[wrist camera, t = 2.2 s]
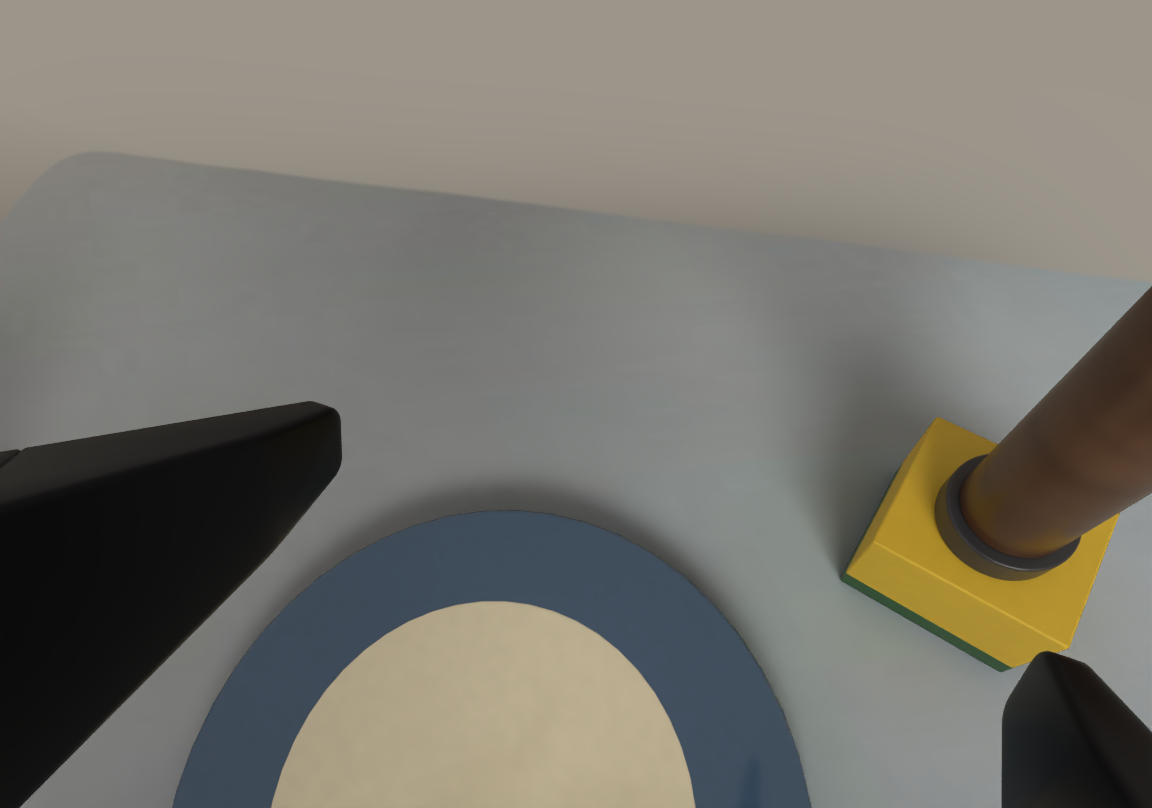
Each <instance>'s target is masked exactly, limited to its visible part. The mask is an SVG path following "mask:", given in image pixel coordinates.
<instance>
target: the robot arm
mask: <svg viewBox="0 0 1152 808" xmlns="http://www.w3.org/2000/svg"><path fill="white" fill-rule="evenodd" d="M341 461H342V444H341V420H340V415H339V413H338V412H337V411H336V410H335V409H334V408H332V407H329V406H326V405H323V404H320V403H317V402H313V401H306V402H300V403H294V404H288V405H282V406H276V407H270V408H264V409H258V410H252V411H246V412H240V413H234V414H228V415H222V416H216V417H210V418H204V419H198V420H192V421H186V422H179V423H173V424H167V425H161V426H155V427H149V428H143V429H137V430H131V431H125V432H119V433H113V434H107V435H101V436H95V437H89V438H83V439H77V440H71V441H65V442H59V443H52V444H46V445H40V446H34V447H28V448H25V449H23V450H22V451H20V450H17V449H16V450H9V451H3V452H0V808H20V807H21V806H22V805H23V804H24V803H25V801H26V800H27V799H28V798H29V797H30V796H31V795H32V794H33V793H34V792H35V791H36V790H37V789H38V788H39V787H40V786H41V785H42V784H43V783H44V782H45V781H46V780H47V779H48V778H49V777H50V776H51V775H52V774H53V773H54V772H55V771H56V770H57V769H58V768H59V767H60V766H61V765H62V764H63V763H64V762H65V761H66V760H67V759H68V758H69V757H70V756H71V755H72V754H73V753H74V752H75V751H76V750H77V749H78V748H79V747H80V746H81V745H82V744H83V743H84V742H85V741H86V740H87V739H88V738H89V737H90V736H91V735H92V734H93V733H94V732H95V731H96V730H97V729H98V728H99V727H100V726H101V725H102V724H103V723H104V722H105V721H106V720H107V719H108V718H109V717H110V716H111V715H112V714H113V713H114V712H115V711H116V710H117V709H118V708H119V707H120V706H121V705H122V704H123V703H124V702H125V701H126V700H127V699H128V698H129V697H130V696H131V695H132V694H133V693H134V692H135V691H136V690H137V689H138V688H139V687H140V686H141V685H142V684H143V683H144V682H145V681H146V680H147V679H148V678H149V677H150V676H151V675H152V674H153V673H154V672H155V671H156V670H157V669H158V668H159V667H160V666H161V665H162V664H163V663H164V662H165V661H166V660H167V659H168V658H169V657H170V656H171V655H172V654H173V653H174V652H175V651H176V650H177V649H178V648H179V647H180V646H181V645H182V644H183V643H184V642H185V641H186V640H187V639H188V638H189V637H190V636H191V635H192V634H193V633H194V632H195V631H196V630H197V629H198V628H199V627H200V626H201V625H202V624H203V623H204V622H205V621H206V620H207V619H208V618H209V617H210V616H211V615H212V614H213V613H214V612H215V611H216V609H217V608H218V607H219V606H220V605H221V604H222V603H223V602H224V601H225V600H226V599H227V598H228V597H229V596H230V595H231V594H232V593H233V592H234V591H235V590H236V589H237V588H238V587H239V586H240V585H241V584H242V583H243V582H244V581H245V580H246V579H247V578H248V577H249V576H250V575H251V574H252V573H253V572H254V571H255V570H256V569H257V568H258V567H259V566H260V565H261V564H262V563H263V562H264V561H265V560H266V559H267V558H268V557H269V556H270V555H271V554H272V552H273V551H274V550H275V549H276V548H277V547H278V545H279V544H280V543H281V542H282V541H283V540H284V538H285V537H286V536H287V535H288V534H289V532H290V531H291V530H292V529H293V527H294V526H295V525H296V524H297V522H298V521H299V520H300V519H301V518H302V516H303V515H304V514H305V513H306V511H307V510H308V509H309V508H310V506H311V505H312V504H313V503H314V502H315V500H316V499H317V498H318V497H319V495H320V494H321V493H322V492H323V491H324V489H325V488H326V487H327V486H328V484H329V483H330V482H331V481H332V479H333V478H334V477H335V476H336V474H337V472H338V470H339V468H340V465H341ZM1002 808H1152V732H1151V731H1150V730H1149V729H1148V727H1147V726H1146V725H1145V724H1144V723H1143V722H1142V721H1141V720H1140V719H1139V718H1138V717H1137V716H1136V715H1135V714H1134V713H1133V712H1132V711H1131V710H1130V709H1129V708H1128V706H1127V705H1126V704H1125V703H1124V702H1123V701H1122V700H1121V699H1120V698H1119V697H1118V696H1117V695H1116V694H1115V693H1114V692H1113V691H1112V690H1111V689H1110V688H1109V687H1108V685H1107V684H1106V683H1105V682H1104V681H1103V680H1102V679H1101V678H1100V677H1099V676H1098V675H1097V674H1096V673H1095V672H1094V671H1093V670H1092V669H1091V668H1090V667H1089V666H1088V665H1086V664H1085V663H1083V662H1080V661H1078V660H1075V659H1072V658H1069V657H1066V656H1063V655H1060V654H1057V653H1054V652H1051V651H1043V652H1040V653H1038V654H1037V655H1036V656H1035V657H1034V658H1033V660H1032V661H1031V663H1030V664H1029V666H1028V668H1027V669H1026V671H1025V672H1024V674H1023V676H1022V677H1021V679H1020V680H1019V682H1018V684H1017V685H1016V687H1015V688H1014V690H1013V692H1012V693H1011V695H1010V696H1009V698H1008V700H1007V702H1006V705H1005V708H1004V711H1003V717H1002Z"/></svg>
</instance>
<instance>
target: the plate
mask: <svg viewBox="0 0 1152 808" xmlns="http://www.w3.org/2000/svg"><path fill="white" fill-rule="evenodd" d="M172 808H811V802H810V798H809V794H808V790H807V786H806V782H805V777H804V773H803V769H802V765H801V761H800V757H799V753H798V751H797V748H796V745H795V742H794V740H793V737H792V734H791V732H790V729H789V726H788V723H787V721H786V718H785V715H784V712H783V710H782V708H781V706H780V704H779V702H778V700H777V698H776V696H775V694H774V692H773V690H772V688H771V686H770V684H769V682H768V680H767V678H766V676H765V674H764V672H763V670H762V668H761V667H760V665H759V664H758V662H757V661H756V659H755V658H754V656H753V655H752V653H751V651H750V650H749V648H748V647H747V645H746V644H745V642H744V641H743V639H742V638H741V636H740V635H739V633H738V632H737V631H736V630H735V628H734V627H733V626H732V625H731V624H730V623H729V621H728V620H727V619H726V618H725V617H724V615H723V614H722V613H721V612H720V611H719V610H718V608H717V607H716V606H715V605H714V604H713V602H712V601H711V600H710V599H709V598H707V597H706V596H705V595H704V594H703V593H702V592H701V591H700V590H699V589H698V588H697V587H696V586H694V585H693V584H692V583H691V582H690V581H689V580H688V579H687V578H686V577H685V576H684V575H683V574H681V573H680V572H678V571H677V570H676V569H674V568H673V567H671V566H670V565H669V564H667V563H666V562H664V561H663V560H662V559H660V558H659V557H657V556H656V555H655V554H653V553H652V552H650V551H648V550H646V549H645V548H643V547H641V546H639V545H637V544H635V543H633V542H632V541H630V540H628V539H626V538H624V537H622V536H620V535H618V534H616V533H613V532H610V531H608V530H605V529H603V528H600V527H597V526H595V525H592V524H589V523H587V522H583V521H579V520H575V519H571V518H567V517H562V516H558V515H554V514H547V513H538V512H529V511H520V510H507V511H480V512H473V513H466V514H459V515H452V516H447V517H443V518H440V519H436V520H432V521H429V522H425V523H421V524H418V525H414V526H412V527H409V528H407V529H404V530H402V531H399V532H397V533H394V534H392V535H389V536H387V537H385V538H382V539H380V540H378V541H376V542H375V543H373V544H371V545H369V546H367V547H365V548H364V549H362V550H360V551H358V552H356V553H354V554H353V555H351V556H349V557H347V558H346V559H345V560H343V561H342V562H340V563H339V564H337V565H336V566H335V567H333V568H332V569H330V570H329V571H327V572H326V573H325V574H323V575H322V576H320V577H319V578H318V579H316V580H315V581H314V582H313V583H312V584H311V585H310V586H308V587H307V588H306V589H305V590H304V591H303V592H302V593H300V594H299V595H298V596H297V597H296V598H295V599H294V600H292V601H291V602H290V603H289V604H288V605H287V606H286V607H285V608H284V609H283V610H282V611H281V613H280V614H279V615H278V616H277V617H276V618H275V619H274V620H273V621H272V622H271V623H270V624H269V625H268V627H267V628H266V629H265V630H264V631H263V632H262V633H261V634H260V635H259V637H258V638H257V639H256V641H255V642H254V643H253V645H252V646H251V647H250V649H249V650H248V651H247V653H246V654H245V655H244V657H243V658H242V659H241V661H240V662H239V663H238V665H237V666H236V667H235V669H234V670H233V672H232V674H231V675H230V677H229V679H228V680H227V682H226V684H225V685H224V687H223V689H222V690H221V692H220V693H219V695H218V697H217V698H216V700H215V702H214V703H213V705H212V707H211V709H210V711H209V713H208V715H207V717H206V720H205V722H204V724H203V726H202V728H201V730H200V732H199V734H198V736H197V738H196V740H195V742H194V745H193V747H192V750H191V752H190V755H189V758H188V761H187V763H186V766H185V769H184V772H183V774H182V777H181V780H180V783H179V785H178V788H177V791H176V795H175V799H174V803H173V807H172Z"/></svg>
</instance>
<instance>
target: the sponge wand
mask: <svg viewBox="0 0 1152 808" xmlns="http://www.w3.org/2000/svg"><path fill="white" fill-rule="evenodd" d="M1151 493H1152V286H1151V288H1150V289H1149V290H1148V291H1147V292H1146V293H1145V294H1144V295H1143V296H1142V297H1141V298H1140V299H1139V300H1138V301H1137V302H1136V303H1135V304H1134V305H1133V306H1132V307H1131V308H1130V309H1129V310H1128V311H1127V312H1126V313H1125V314H1124V315H1123V316H1122V317H1121V318H1120V319H1119V320H1118V321H1117V323H1116V324H1115V325H1114V326H1113V327H1112V328H1111V329H1110V330H1109V331H1108V332H1107V333H1106V334H1105V335H1104V336H1103V337H1102V338H1101V339H1100V340H1099V341H1098V342H1097V343H1096V344H1095V345H1094V346H1093V347H1092V348H1091V349H1090V350H1089V351H1088V352H1087V353H1086V354H1085V355H1084V357H1083V358H1082V359H1081V360H1080V361H1079V362H1078V363H1077V364H1076V365H1075V366H1074V367H1073V368H1072V369H1071V370H1070V371H1069V372H1068V373H1067V374H1066V375H1065V376H1064V377H1063V378H1062V379H1061V380H1060V381H1059V382H1058V383H1057V384H1056V385H1055V386H1054V387H1053V388H1052V389H1051V390H1050V392H1049V393H1048V394H1047V395H1046V396H1045V397H1044V398H1043V399H1042V400H1041V401H1040V402H1039V403H1038V404H1037V405H1036V406H1035V407H1034V408H1033V409H1032V410H1031V411H1030V412H1029V413H1028V414H1027V415H1026V416H1025V417H1024V418H1023V419H1022V420H1021V421H1020V422H1019V423H1018V424H1017V426H1016V427H1015V428H1014V429H1013V430H1012V431H1011V432H1010V433H1009V434H1008V435H1007V436H1006V437H1005V438H1004V439H1003V440H1002V441H1001V442H1000V443H999V444H996V443H993V442H991V441H989V440H987V439H985V438H983V437H981V436H978V435H976V434H974V433H972V432H970V431H968V430H965V429H963V428H961V427H959V426H957V425H955V424H953V423H950V422H948V421H946V420H944V419H942V418H940V417H937V418H935V420H934V421H933V422H932V424H931V425H930V426H929V428H928V429H927V431H926V432H925V433H924V435H923V436H922V437H921V439H920V440H919V441H918V443H917V444H916V446H915V447H914V448H913V450H912V451H911V452H910V454H909V455H908V456H907V458H906V459H905V460H904V462H903V463H902V465H901V466H900V467H899V469H898V470H897V472H896V473H895V475H894V477H893V479H892V481H891V483H890V485H889V487H888V489H887V491H886V493H885V494H884V496H883V498H882V500H881V502H880V504H879V506H878V508H877V510H876V512H875V513H874V515H873V517H872V519H871V521H870V523H869V525H868V527H867V529H866V531H865V532H864V534H863V536H862V538H861V540H860V542H859V544H858V546H857V548H856V550H855V551H854V553H853V555H852V557H851V559H850V561H849V563H848V565H847V567H846V569H845V570H844V572H843V574H842V576H841V578H840V580H841V581H843V582H844V583H846V584H848V585H850V586H851V587H853V588H855V589H857V590H858V591H860V592H862V593H864V594H865V595H867V596H869V597H870V598H872V599H874V600H876V601H877V602H879V603H881V604H883V605H884V606H886V607H888V608H890V609H891V610H893V611H895V612H897V613H898V614H900V615H902V616H903V617H905V618H907V619H909V620H910V621H912V622H914V623H916V624H917V625H919V626H921V627H923V628H924V629H926V630H928V631H930V632H931V633H933V634H935V635H937V636H938V637H940V638H942V639H943V640H945V641H947V642H949V643H950V644H952V645H954V646H956V647H957V648H959V649H961V650H963V651H964V652H966V653H968V654H970V655H971V656H973V657H975V658H976V659H978V660H980V661H982V662H983V663H985V664H987V665H989V666H990V667H992V668H994V669H996V670H997V671H999V672H1003V671H1006V670H1009V669H1011V668H1014V667H1017V666H1020V665H1023V664H1025V663H1028V662H1031V661H1032V660H1033V658H1034V657H1035V656H1036V655H1037V654H1038V653H1040V652H1043V651H1051V652H1054V653H1057V652H1060V651H1063V650H1066V649H1068V648H1069V647H1070V644H1071V641H1072V639H1073V636H1074V633H1075V631H1076V628H1077V625H1078V623H1079V620H1080V617H1081V615H1082V612H1083V609H1084V607H1085V604H1086V602H1087V599H1088V596H1089V594H1090V591H1091V588H1092V586H1093V583H1094V580H1095V578H1096V575H1097V572H1098V570H1099V567H1100V564H1101V562H1102V559H1103V556H1104V554H1105V551H1106V549H1107V546H1108V543H1109V541H1110V538H1111V535H1112V533H1113V530H1114V527H1115V525H1116V522H1117V519H1118V517H1119V514H1120V512H1121V511H1123V510H1125V509H1126V508H1128V507H1130V506H1131V505H1133V504H1135V503H1136V502H1138V501H1139V500H1141V499H1143V498H1144V497H1146V496H1148V495H1149V494H1151Z"/></svg>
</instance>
